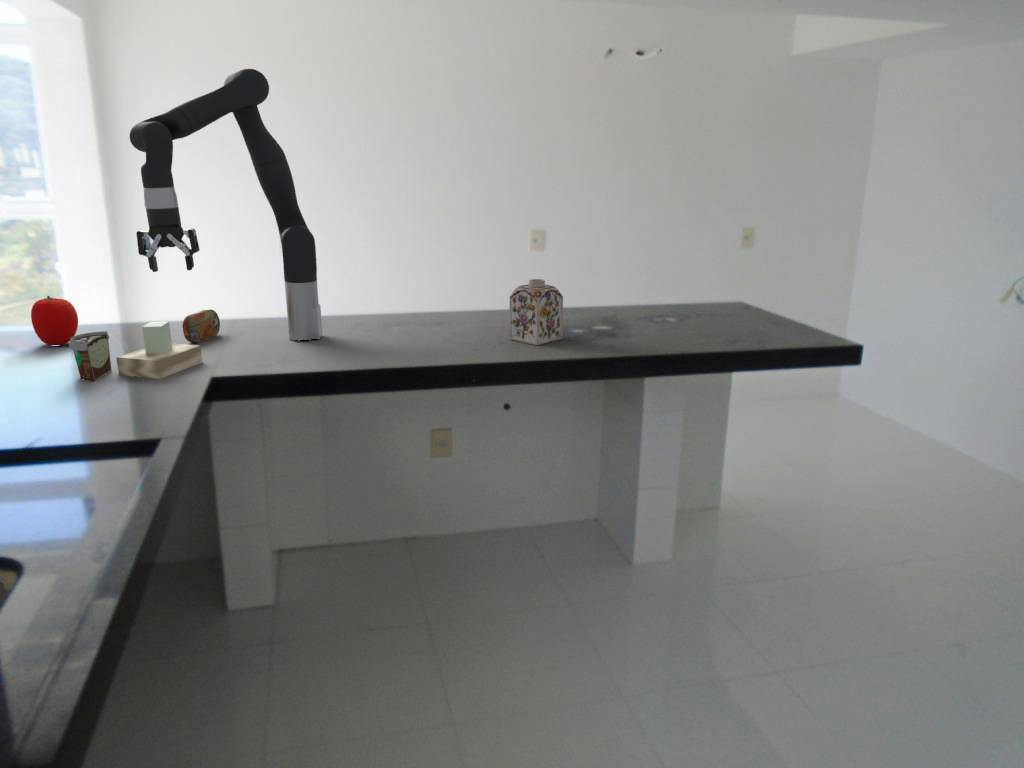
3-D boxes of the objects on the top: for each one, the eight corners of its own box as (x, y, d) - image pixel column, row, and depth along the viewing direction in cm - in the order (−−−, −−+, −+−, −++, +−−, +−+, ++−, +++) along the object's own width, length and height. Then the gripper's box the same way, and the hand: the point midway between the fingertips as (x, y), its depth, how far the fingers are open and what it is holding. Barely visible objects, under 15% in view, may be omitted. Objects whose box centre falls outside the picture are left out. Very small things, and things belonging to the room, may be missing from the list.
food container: (89, 369, 188) (82, 331, 185) (114, 369, 188) (108, 330, 185) (65, 383, 176) (57, 342, 173) (92, 382, 176) (85, 342, 173)
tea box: (172, 347, 191) (169, 321, 189) (164, 353, 185) (161, 326, 183) (154, 348, 190) (150, 321, 188) (145, 354, 184) (142, 326, 182)
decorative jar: (563, 339, 221) (564, 279, 216) (537, 346, 213) (538, 284, 208) (533, 333, 229) (534, 275, 224) (507, 339, 221) (508, 279, 215)
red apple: (30, 344, 213) (21, 295, 209) (73, 337, 221) (65, 290, 217) (44, 351, 205) (35, 301, 200) (88, 344, 212) (80, 296, 208)
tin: (192, 345, 212) (188, 317, 210) (182, 345, 213) (178, 316, 210) (222, 334, 226) (219, 307, 224) (212, 333, 227) (209, 306, 224)
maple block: (202, 363, 195) (200, 345, 193) (160, 380, 180) (157, 360, 179) (164, 360, 198) (161, 342, 196) (119, 376, 183) (116, 357, 182)
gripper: (195, 204, 189) (205, 267, 194) (138, 206, 188) (149, 269, 193) (186, 206, 182) (196, 271, 187) (126, 208, 181) (138, 274, 186)
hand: (172, 270), depth 190 cm, fingers open, 8 cm apart
